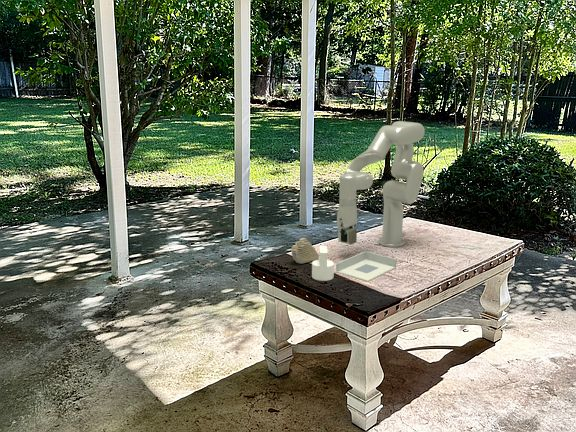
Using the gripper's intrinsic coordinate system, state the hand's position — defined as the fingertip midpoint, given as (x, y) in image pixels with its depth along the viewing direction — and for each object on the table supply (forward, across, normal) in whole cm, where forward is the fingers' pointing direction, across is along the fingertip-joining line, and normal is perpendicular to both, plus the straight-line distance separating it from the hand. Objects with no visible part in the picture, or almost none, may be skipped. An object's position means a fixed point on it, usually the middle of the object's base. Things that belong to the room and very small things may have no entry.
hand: (347, 239), depth 248 cm
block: (+1, 0, 0) cm, 1 cm away
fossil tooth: (+7, +19, -10) cm, 22 cm away
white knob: (+7, +28, +8) cm, 30 cm away
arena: (+8, +9, +17) cm, 21 cm away
